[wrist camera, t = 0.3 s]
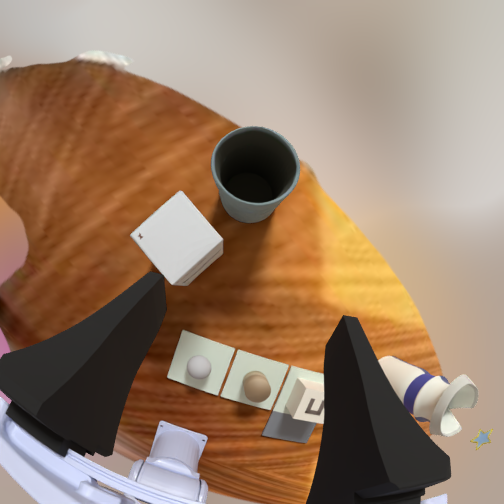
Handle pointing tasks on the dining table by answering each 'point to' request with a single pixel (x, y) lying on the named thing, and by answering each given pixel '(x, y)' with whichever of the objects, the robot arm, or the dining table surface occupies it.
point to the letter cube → (307, 401)
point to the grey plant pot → (254, 172)
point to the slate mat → (288, 428)
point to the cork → (256, 386)
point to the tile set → (235, 371)
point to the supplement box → (179, 240)
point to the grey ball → (199, 367)
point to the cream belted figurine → (432, 396)
